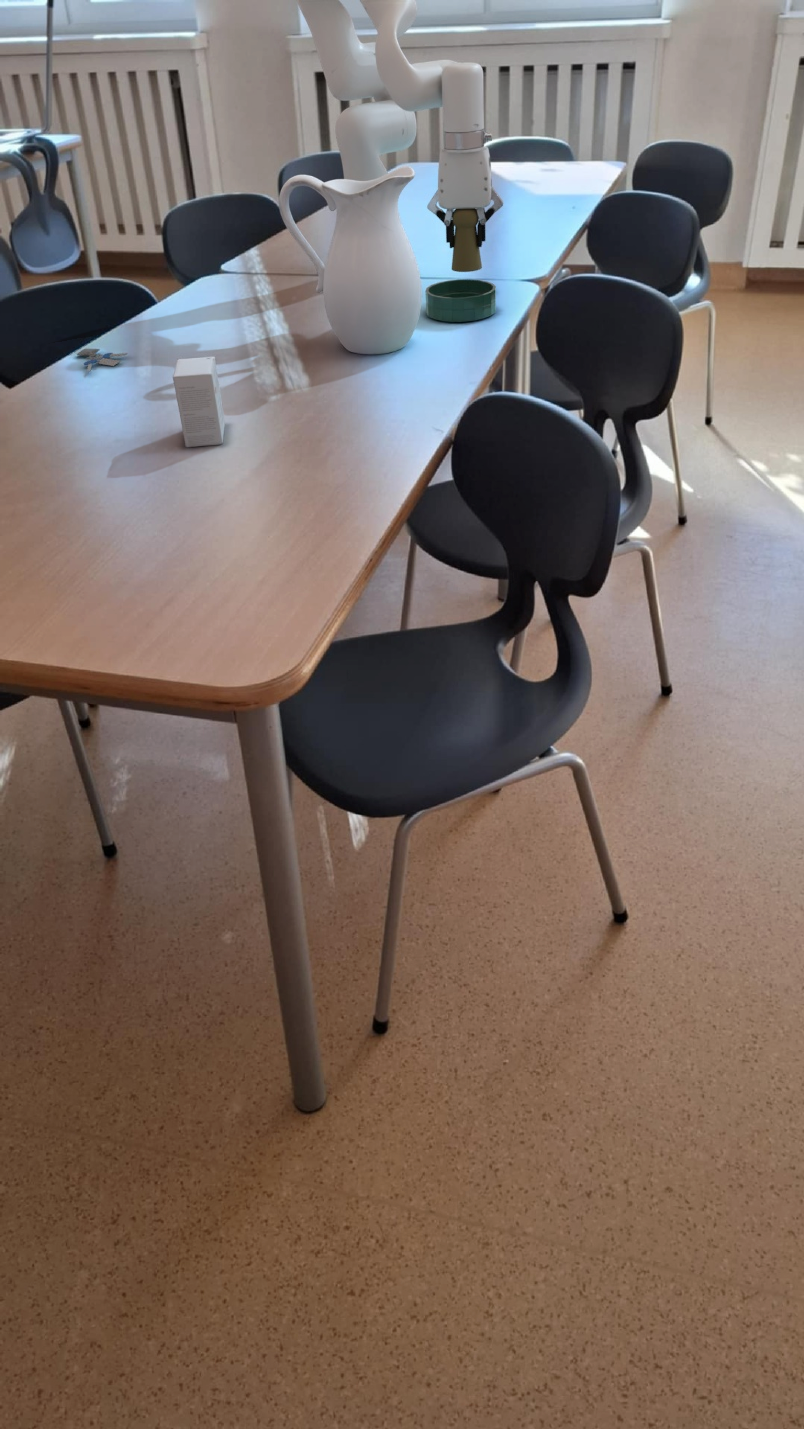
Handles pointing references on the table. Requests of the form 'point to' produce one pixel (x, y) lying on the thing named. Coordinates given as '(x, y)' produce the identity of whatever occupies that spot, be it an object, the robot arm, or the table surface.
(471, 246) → the cork
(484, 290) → the bowl
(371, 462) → the table surface
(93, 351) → the key chain
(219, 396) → the small box
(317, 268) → the pitcher
